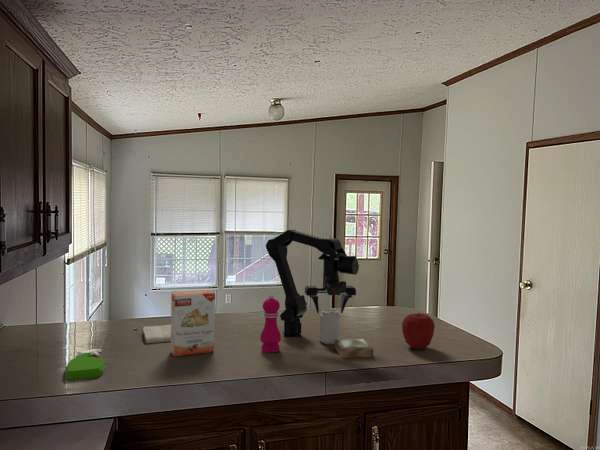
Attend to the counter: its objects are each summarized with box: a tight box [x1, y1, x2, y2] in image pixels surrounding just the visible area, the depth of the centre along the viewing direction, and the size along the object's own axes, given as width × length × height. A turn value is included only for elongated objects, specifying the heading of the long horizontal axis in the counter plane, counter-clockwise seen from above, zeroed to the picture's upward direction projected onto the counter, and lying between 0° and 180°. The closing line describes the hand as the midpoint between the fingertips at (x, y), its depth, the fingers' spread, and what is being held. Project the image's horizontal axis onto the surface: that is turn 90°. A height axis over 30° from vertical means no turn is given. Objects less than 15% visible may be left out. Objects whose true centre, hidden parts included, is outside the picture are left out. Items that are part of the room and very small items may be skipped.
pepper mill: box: [260, 293, 282, 354], centre depth 165 cm, size 7×7×20 cm
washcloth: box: [142, 324, 171, 344], centre depth 181 cm, size 12×18×3 cm, turn 23°
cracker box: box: [170, 289, 216, 357], centre depth 161 cm, size 14×6×21 cm, turn 117°
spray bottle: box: [64, 348, 106, 381], centre depth 147 cm, size 3×11×24 cm
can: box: [319, 308, 341, 345], centre depth 177 cm, size 8×8×12 cm
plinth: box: [334, 338, 374, 359], centre depth 165 cm, size 11×11×3 cm
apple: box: [401, 312, 436, 350], centre depth 172 cm, size 12×12×13 cm
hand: (329, 313), depth 177 cm, fingers open, 9 cm apart
